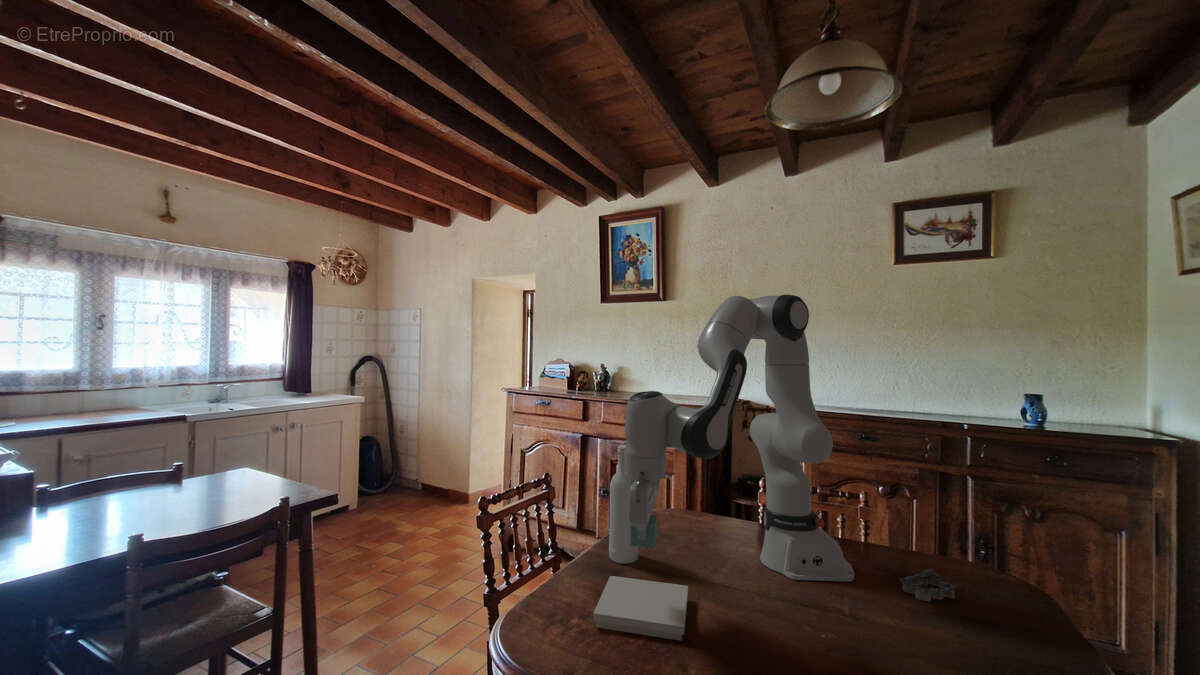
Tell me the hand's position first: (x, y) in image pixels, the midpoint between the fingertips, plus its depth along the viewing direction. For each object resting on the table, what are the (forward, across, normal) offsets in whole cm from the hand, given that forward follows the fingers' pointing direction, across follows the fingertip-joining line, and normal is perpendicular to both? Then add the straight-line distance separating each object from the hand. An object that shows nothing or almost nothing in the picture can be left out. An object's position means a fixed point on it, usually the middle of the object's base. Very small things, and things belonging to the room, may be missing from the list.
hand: (644, 532), depth 99 cm
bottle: (+17, +25, +9) cm, 32 cm away
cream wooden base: (+17, 0, 0) cm, 17 cm away
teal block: (+2, 0, 0) cm, 2 cm away
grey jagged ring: (+18, +25, -64) cm, 71 cm away
